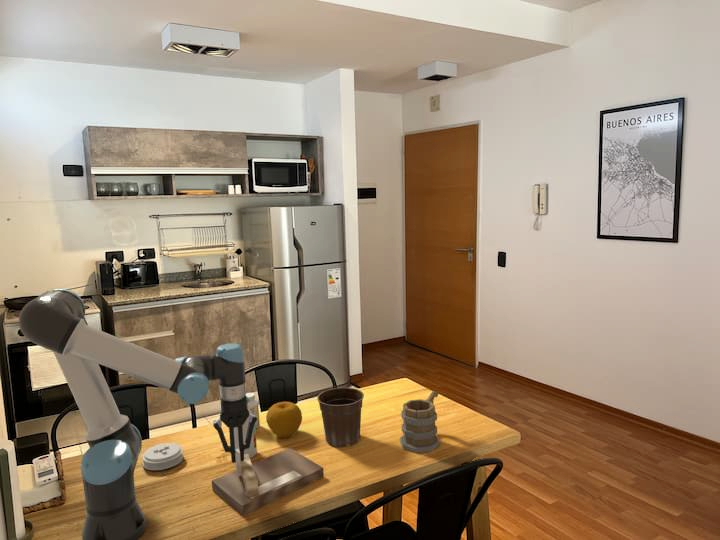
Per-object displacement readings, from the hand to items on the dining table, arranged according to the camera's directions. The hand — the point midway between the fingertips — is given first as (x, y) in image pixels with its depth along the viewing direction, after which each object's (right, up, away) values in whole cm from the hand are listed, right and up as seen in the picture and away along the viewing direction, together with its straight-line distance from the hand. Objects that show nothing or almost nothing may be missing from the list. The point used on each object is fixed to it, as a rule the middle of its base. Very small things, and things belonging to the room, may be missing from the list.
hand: (238, 471), depth 160 cm
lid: (-28, -4, +16) cm, 33 cm away
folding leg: (+4, -2, -3) cm, 5 cm away
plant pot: (+30, +1, +28) cm, 41 cm away
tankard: (+59, +1, +25) cm, 64 cm away
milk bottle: (-2, -2, +19) cm, 20 cm away
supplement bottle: (-4, +1, +40) cm, 40 cm away
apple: (+9, +1, +33) cm, 35 cm away
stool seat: (+9, -4, +1) cm, 10 cm away
